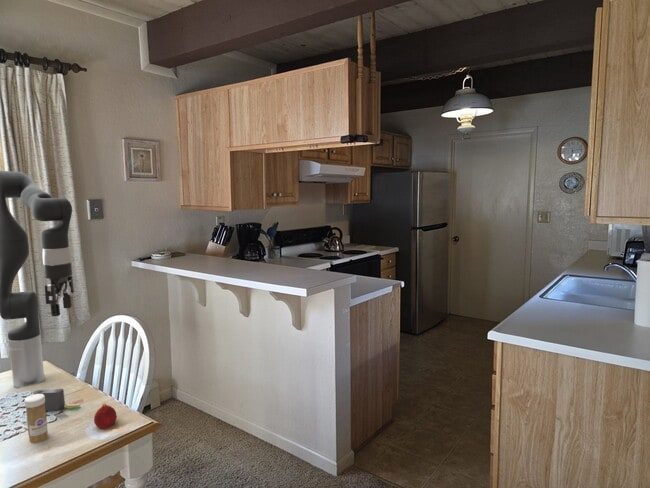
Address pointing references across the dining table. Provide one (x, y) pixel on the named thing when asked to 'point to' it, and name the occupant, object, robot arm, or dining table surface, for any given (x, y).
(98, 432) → the dining table surface
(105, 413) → the onion
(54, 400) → the peg knob
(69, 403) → the tuner board
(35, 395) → the sprinkles bottle
